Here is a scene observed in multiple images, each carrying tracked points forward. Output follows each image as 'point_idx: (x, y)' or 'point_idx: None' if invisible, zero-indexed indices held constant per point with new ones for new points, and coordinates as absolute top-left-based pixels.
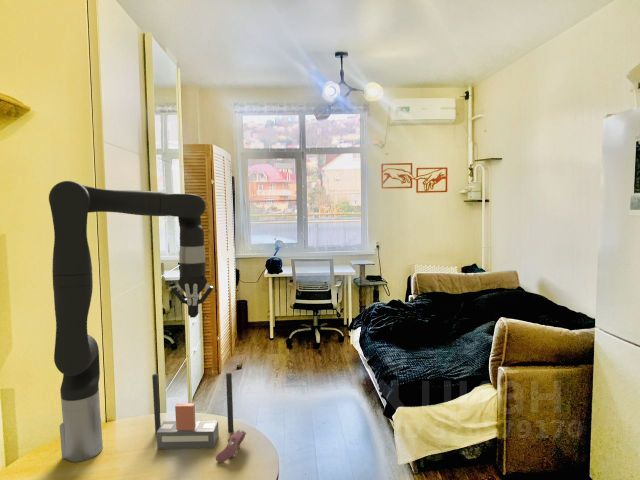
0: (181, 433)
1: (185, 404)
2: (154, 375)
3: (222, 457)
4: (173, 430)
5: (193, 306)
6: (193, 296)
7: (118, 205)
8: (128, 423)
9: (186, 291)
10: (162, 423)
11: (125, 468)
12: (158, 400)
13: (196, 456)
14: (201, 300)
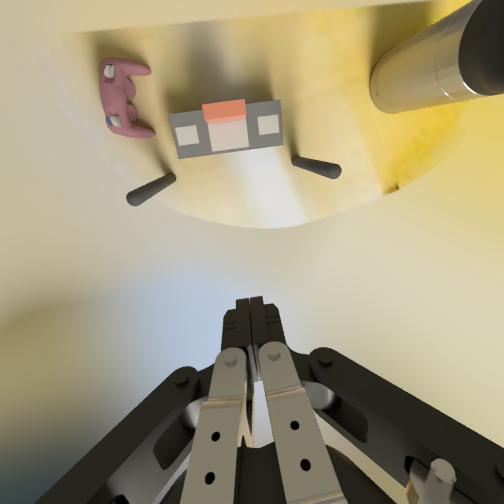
0: None
1: (223, 111)
2: (334, 167)
3: (132, 61)
4: (249, 110)
5: (242, 342)
6: (233, 408)
7: None
8: (357, 183)
9: (319, 459)
10: (282, 136)
11: (305, 33)
12: (307, 163)
13: (195, 86)
14: (173, 389)
